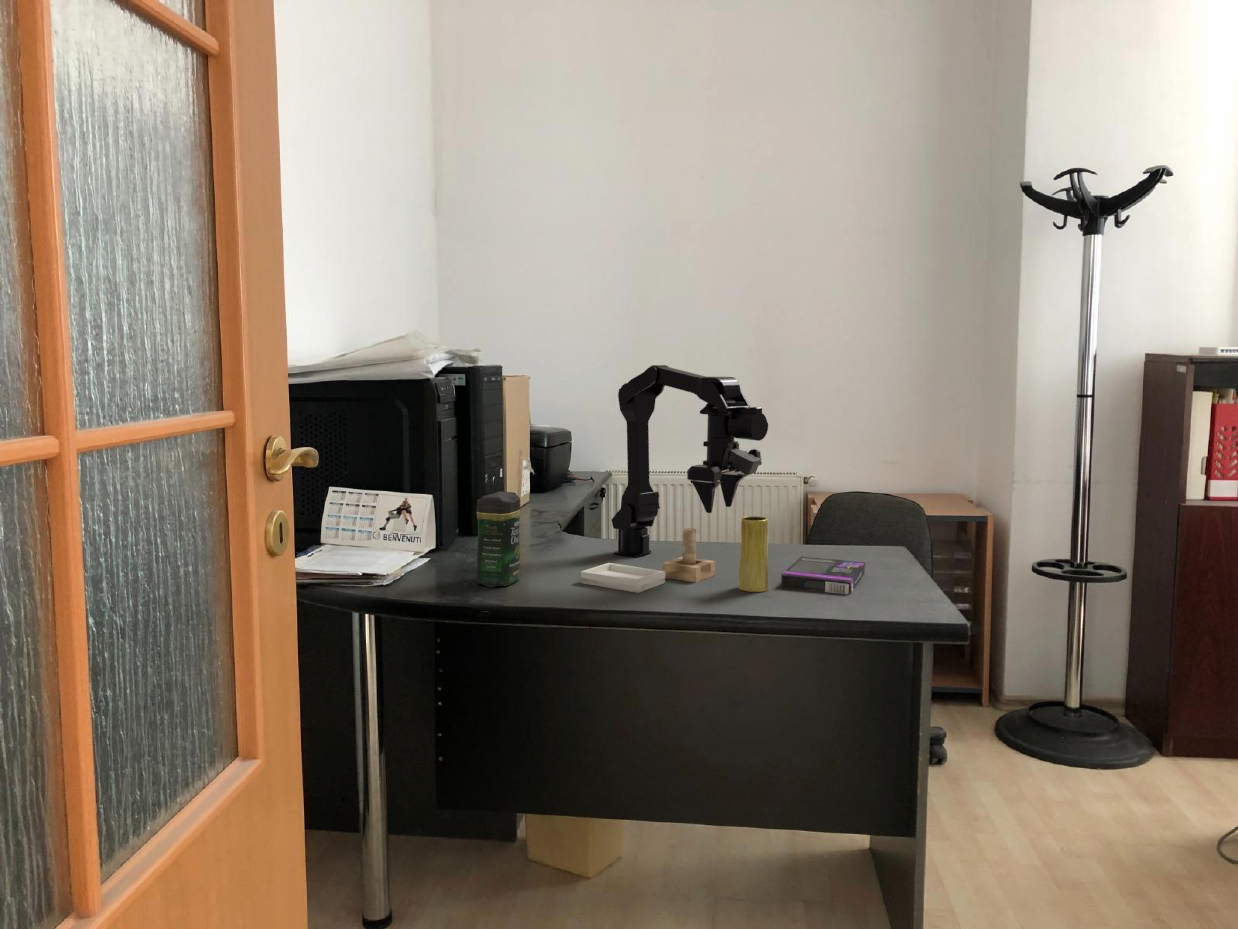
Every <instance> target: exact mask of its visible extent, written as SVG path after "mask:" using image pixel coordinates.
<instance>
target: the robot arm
mask: <svg viewBox="0 0 1238 929" xmlns="http://www.w3.org/2000/svg"><path fill="white" fill-rule="evenodd" d="M665 387H670V388H672V389H676V390H680V391H684V392H687V393H691V394H693V395H696V396H697V398H698V399H700V400H701V401H703V402H705V403H706V405H705V406H704V407H702V408H701V409H700V410H699V414H700V415H707V432H706V434H707V435H706V439H707V440H705V441H703V443H702V444H703V445H702V446H703V447H706V460H702V464H696V465H691V466H690V467H689V468H688V469H687V471H686V472H687V475H686V479H687V480H688V481H690V484H692V486H693V487H694V489H695V491H696V493H697V495H698V497H699V499H700V501H701V504H702V506H703V508H704V511H705V512H706V514H712V513H713V507H714V501H715V495H716V494H715V493H716V489H717V488H718V486H719V485H720V489H721V494H722V496H723V497H722V498H723V501H724V505H725V507H726V508H731V507H732V505H733V501H734V499H735V496H736V493H737V489H738V488H739V484H740V483H741V481H742V480H743V479H745V478H746V477H748V476H750V475H752V474H756V473H757V471H758V468H759V466H762V464H763V463H762V459H763V458H762V456H761V450H758V449H756V448H751V449H750V450H742V449H740V443H739V441H735V439H739V440H748V441H749V440H750V441H757V442H758V441H762V440H764V438H765V437H766V435H767V434H768V430H769V423H768V419H767V417H766V415H765V414H764V413H763V408H762V407H761V406H751V405H750V404H749V401H748V400H747V398H746V396H745V395H744V393H743V391H742V389H741V386H740V383H739V379H737V378H735V377H733V376H705V375H701V374H698V373H694V372H689V371H685V370H682V369H678V368H674V367H670V366H668V365H667V364H654V365H653V364H652V365H650V366H649V367H647V368H646V369H645V370H644V372H642V373H640V374H638V375H636V376H635V377H633V378H631V379H630V380H628V382H626V383H623V384H622V385H621V387H620V388H619V389H618V394H617V398H618V405H619V411H620V413H621V414H622V416H623V418H624V420H625V421H626V438H627V439H626V450H627V453H626V454H627V455H626V456H627V486H626V488H625V490H624V491H623V494H622V495H621V502H620V508H619V510H618V511H617V512H616V514H614V516H613V517H612V518H611V524H612V528H613V529H616V530H617V531H618V532H617V540H618V542H617V550H615V551H613V552H614V554H615V555H620V556H621V555H622V556H626V557H636V558H637V557H642V556H645V555H647V554H650V553H652V550H651V549H650V534H649V528H648V527H653V525H654V523H655V522H654V521H655V519H656V517H657V515H658V513H659V510H660V509H661V507H660V505H659V504H660V503H659V502H660V500H659V499H660V493H659V491H657V490H656V491H654V489H653V487H652V486H651V484H650V448H649V447H650V443H649V442H650V439H649V436H650V434H649V422H650V419H651V417H652V415H653V413H654V412H655V408H656V407H655V406H656V398H658V397H659V396H660V395H661V394H662V393H663V392H664V390H665Z"/></svg>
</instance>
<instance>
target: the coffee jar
mask: <svg viewBox="0 0 1238 929" xmlns="http://www.w3.org/2000/svg"><path fill="white" fill-rule="evenodd" d="M476 519H477V561H476V582H477V583H478V584H480V585H483V586H486V587H491V588H492V587H493V588H494V587H497V586H499V587H500V586H504V587H507V586H510V585H511V584H514V583H516V582H518V581H519V580H520V578H521V575H522V574H521V573H522V572H521V569H522V568H521V553H520V552H521V550H520V548H521V547H520V521H521V520H520V519H521V498H520V496H519V495H517V493H516V492H513V491H500V490H499V491H497V492H494V493H491V494H488V495H482V496H481V498H478V499H477V501H476Z"/></svg>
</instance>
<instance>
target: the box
mask: <svg viewBox="0 0 1238 929" xmlns="http://www.w3.org/2000/svg"><path fill="white" fill-rule="evenodd" d="M865 572H866V562H865V561H854V560H852V561H851V560H844V559H836V558H835V559H832V558H822V557H811V556H810V557H809V556H804V555H801V556H800V557H799V558H797V560H796V561H795V562H793V563H792V564H791V565H790V566H789V567H788V568H786V569H785V571H783V572H782V573H781V577H780V578H781V588H783V589H791V590H802V591H813V592H824V593H831V594H843V595H851V594H852V593H853V591H855V588H856V587H857V586H858V584H859V582H860V581H861V580H862V578H863V577H864V576H865Z"/></svg>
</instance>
